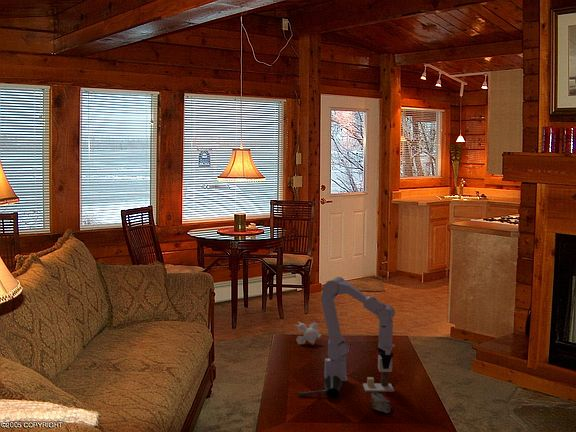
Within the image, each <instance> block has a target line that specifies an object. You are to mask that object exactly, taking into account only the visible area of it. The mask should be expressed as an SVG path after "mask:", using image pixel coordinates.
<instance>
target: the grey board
mask: <svg viewBox="0 0 576 432" xmlns="http://www.w3.org/2000/svg"><path fill="white" fill-rule="evenodd" d="M362 388H363V389H364V392H366V393H367V392H371V393H372V392H377V393H380V392H390V393H391V392H395V388H394V387H393V385H392V383H388V386H382V385H381V382H380V383H377V382H376V383H375V379H374V377H373V376H372V377H371V376H367V377H366V382H365V383H363V382H362Z"/></svg>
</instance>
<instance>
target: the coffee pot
mask: <svg viewBox="0 0 576 432" xmlns="http://www.w3.org/2000/svg"><path fill="white" fill-rule="evenodd" d="M323 387H324V390H321V389H319V390H317V391H310V390H309V391H303V392H302V391H300V390H299V391H298V393H297V397H298V398H300V397H301V398H303V397H307V396H308V397H310V396H313V395H318V394H319V395H320V394H324V393H326V396H327V397H328V398H329V399H338V397H340V391H341V389H342V387H343V381H341V379H340V378H339V377H337V376H329V377H327V378H326V379H325V378H324V381H323Z"/></svg>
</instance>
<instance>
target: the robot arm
mask: <svg viewBox="0 0 576 432" xmlns="http://www.w3.org/2000/svg"><path fill="white" fill-rule="evenodd" d="M322 289H323V290H322V293H321V296H320V301H321V308H322V312H323V315H324V320H325V324H326V328H327V329H326V330H327V333H328V342H327V348H328V349H327V356H328V358H324V371H323V376H324V380H325V379H326V378H327V377H329V376H337V377H339V378H340V379H341V381H342V382H348V381H349V380H348V377H347V354H348V353H349V345H348V343H347V342H346V339H345V337H344V336H343V335H342V333H341V332H342V331H341V328H340V322H339V318H338V313H337V309H336V305H335V299H336V298H337V296H339V295H346V294H347V295H348V296H350V297H352V298H354V299H356V300H357V301H359V302H360V303H362V304H363V308H365V309H366V310H368V311H369V312H371V313H372V314H374V315H375V316H377V319H378V321H379V323H378V344H377V345H378V346H377V347H376V349H377V350H378V355H381V358H382V364H383V369H388V368H389V365H390V361H391V358H392V359H393V356H394V352H391V350H392V349H394V348H396V345H395V344H393V332H394V331H393V330H394V319H393V318H394V317H395V315H396V314H395V313H396V311H395V308H394V307H392V305H390V304H388V305H387V304H386V303H383V302H381V301H380V300H378V299H377V297H376V296H375V295H374V296H372V295H369V296H368V295H366V294H365V293H363V292H362V291H360V290H359V289H358V288H357V287H355V286H354V285H352V284H351V283H350V282H349V280H346V279H344V278H343V277H341V276H337V277H335V278H332V279H331V280H328V281H326V282H325V284H324V285H323V286H322Z"/></svg>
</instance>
